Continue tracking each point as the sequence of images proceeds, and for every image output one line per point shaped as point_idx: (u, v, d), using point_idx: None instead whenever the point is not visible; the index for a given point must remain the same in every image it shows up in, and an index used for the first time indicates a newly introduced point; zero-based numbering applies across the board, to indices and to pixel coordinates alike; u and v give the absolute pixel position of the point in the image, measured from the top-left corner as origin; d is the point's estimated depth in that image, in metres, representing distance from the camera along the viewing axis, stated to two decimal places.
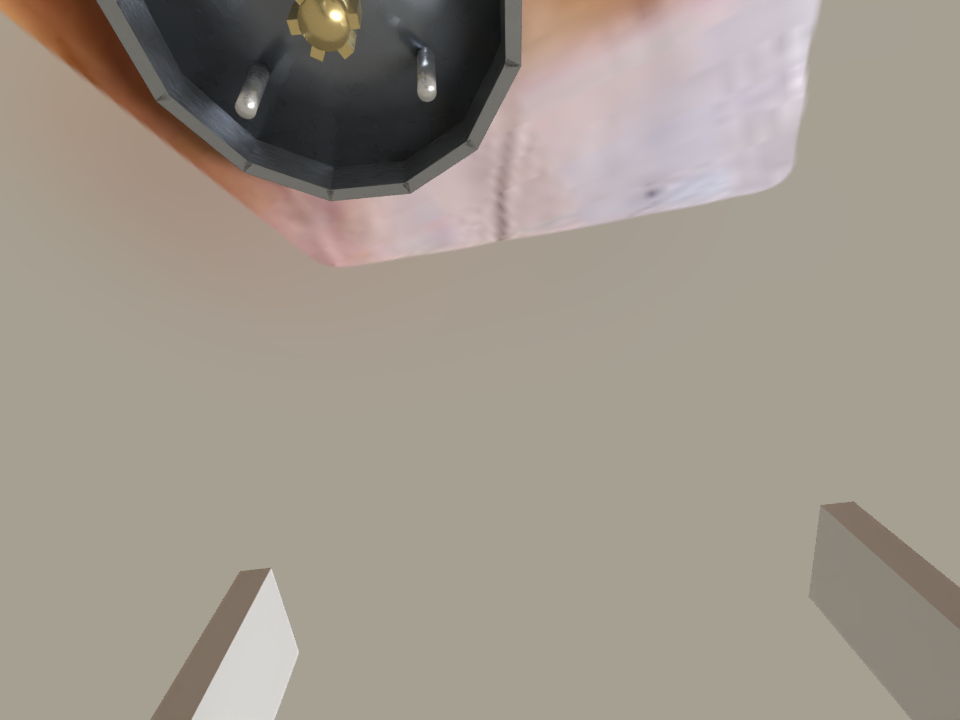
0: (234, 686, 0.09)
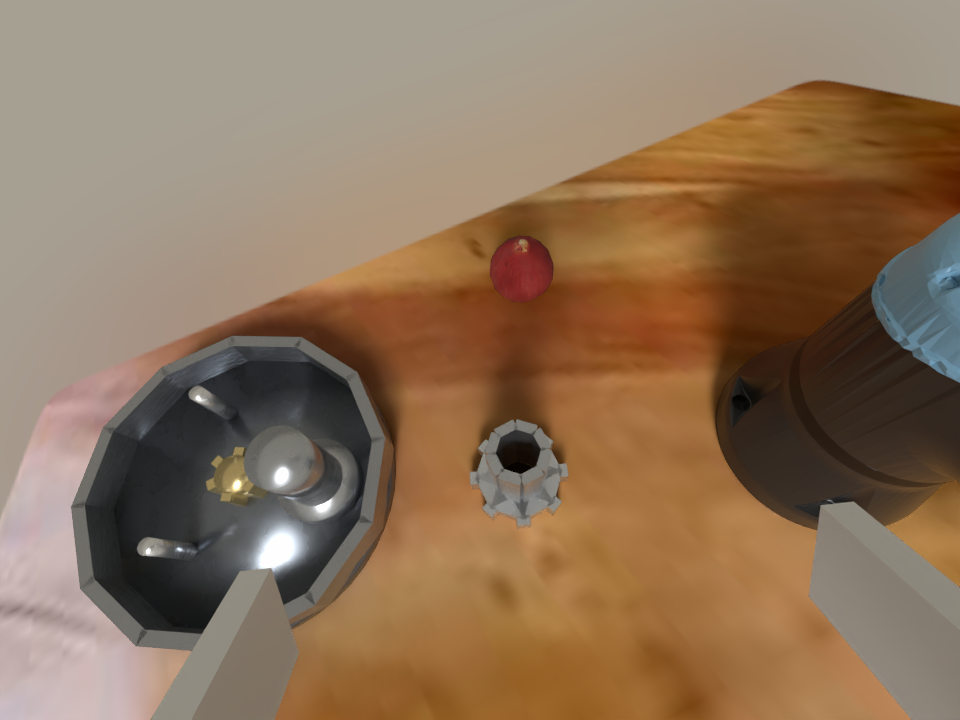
0: (234, 686, 0.09)
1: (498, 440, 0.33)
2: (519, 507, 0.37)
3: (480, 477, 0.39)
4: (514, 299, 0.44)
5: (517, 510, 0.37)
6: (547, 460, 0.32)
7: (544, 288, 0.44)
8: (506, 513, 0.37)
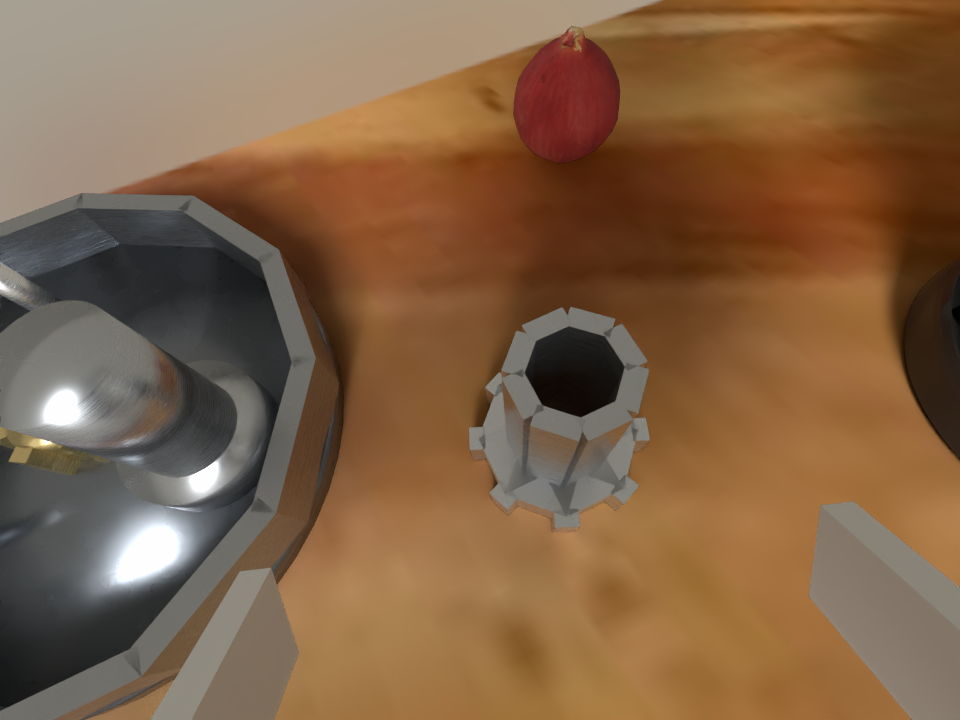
0: (234, 686, 0.09)
1: (531, 347, 0.15)
2: (560, 494, 0.20)
3: (488, 437, 0.21)
4: (553, 151, 0.27)
5: (555, 499, 0.20)
6: (639, 390, 0.14)
7: (604, 131, 0.26)
8: (534, 504, 0.20)
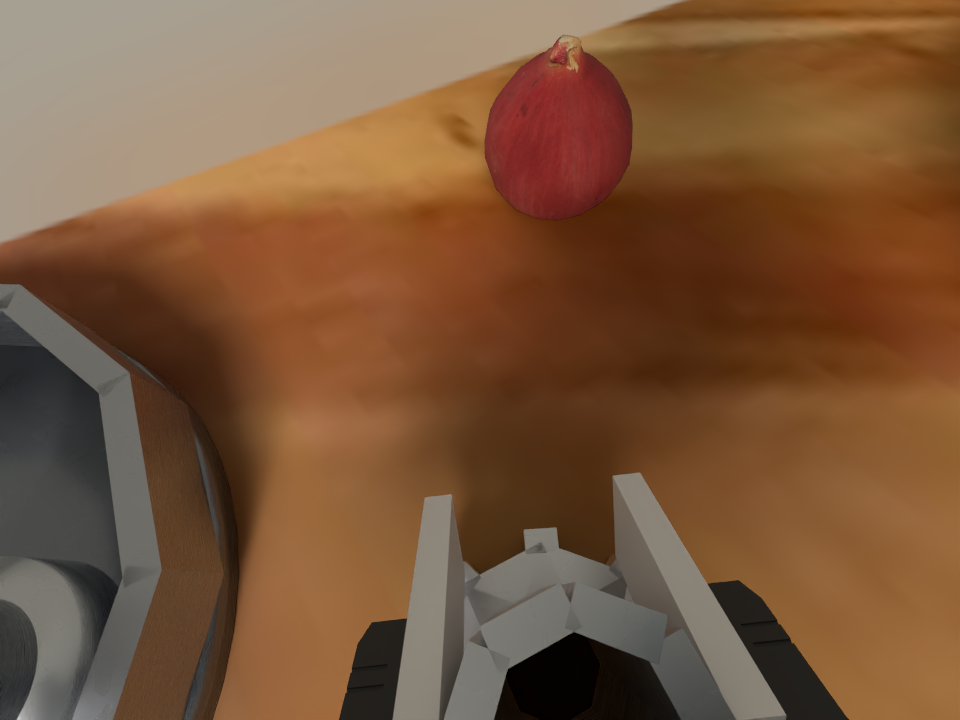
0: (452, 580, 0.11)
1: (497, 685, 0.07)
2: None
3: None
4: (540, 208, 0.19)
5: None
6: None
7: (612, 181, 0.19)
8: None
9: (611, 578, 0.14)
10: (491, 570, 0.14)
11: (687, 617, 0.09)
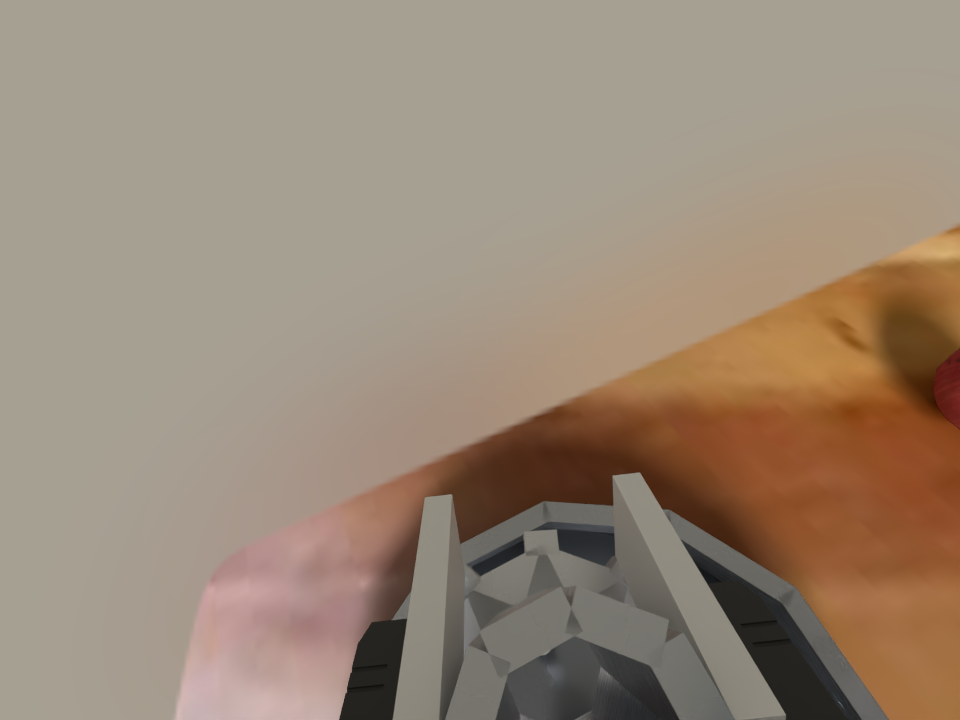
0: (452, 580, 0.11)
1: (498, 691, 0.07)
2: None
3: None
4: None
5: None
6: None
7: None
8: None
9: (611, 580, 0.14)
10: (491, 572, 0.14)
11: (687, 617, 0.09)
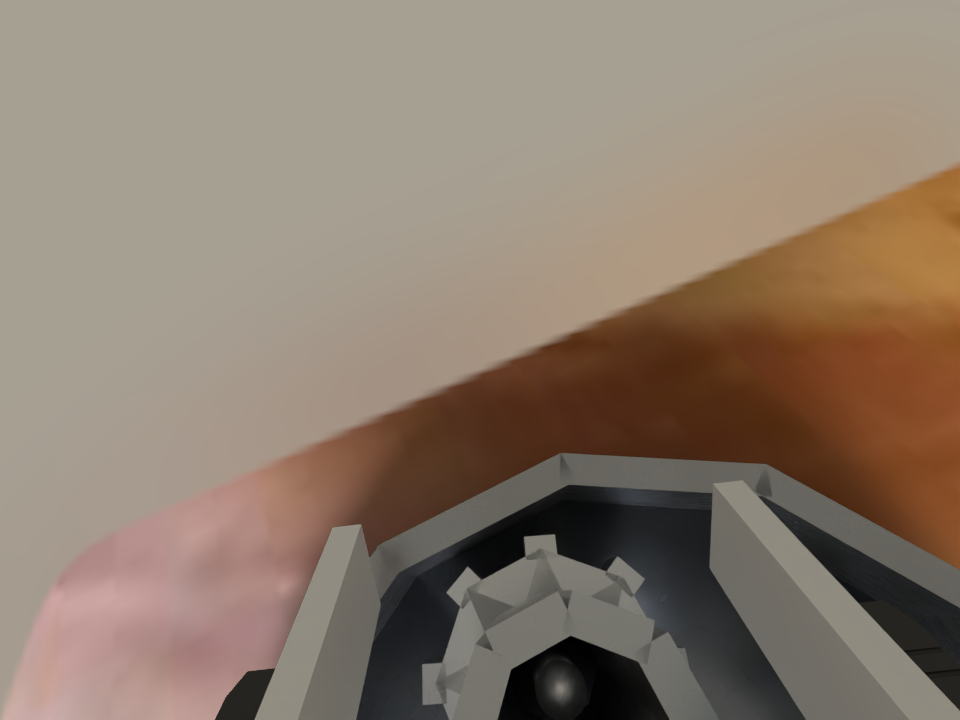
0: (345, 621, 0.11)
1: (502, 684, 0.08)
2: None
3: (450, 682, 0.14)
4: None
5: None
6: None
7: None
8: None
9: (607, 582, 0.15)
10: (493, 575, 0.15)
11: (851, 645, 0.08)
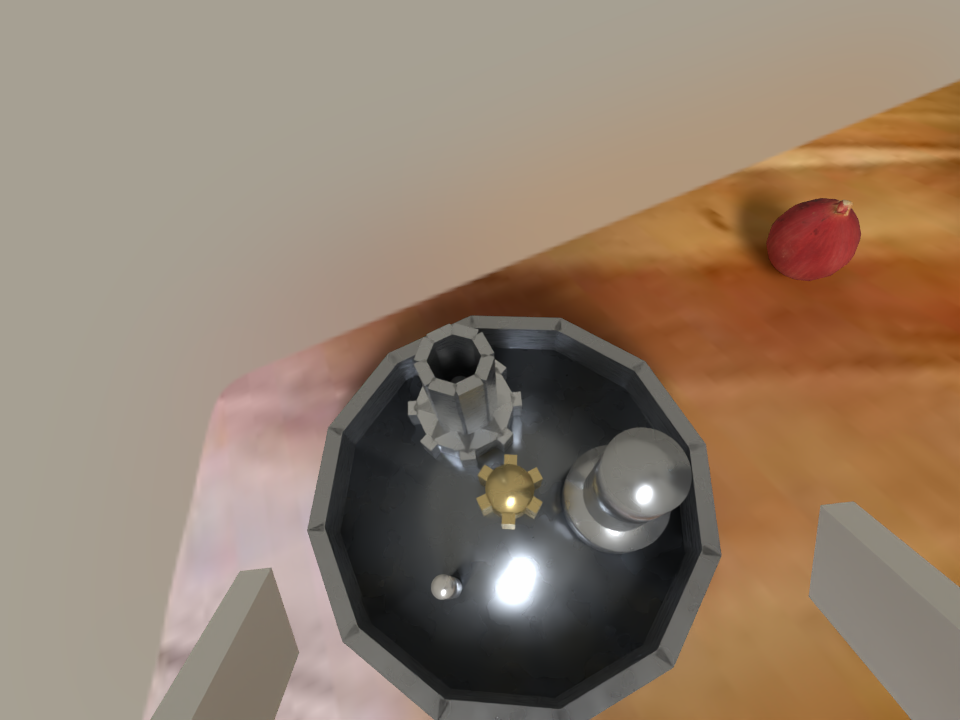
0: (234, 686, 0.09)
1: (431, 346, 0.27)
2: (464, 440, 0.32)
3: (420, 407, 0.33)
4: (806, 276, 0.36)
5: (461, 443, 0.32)
6: (488, 368, 0.26)
7: (846, 263, 0.36)
8: (448, 447, 0.32)
9: None
10: None
11: None
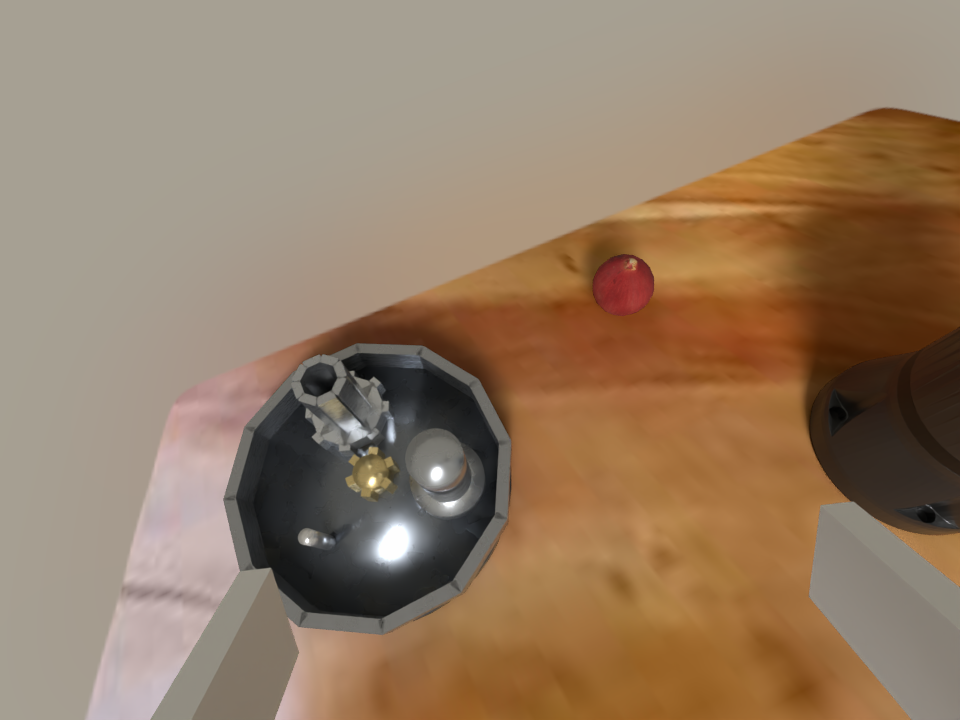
0: (234, 686, 0.09)
1: (304, 370, 0.39)
2: (343, 436, 0.43)
3: None
4: (616, 313, 0.47)
5: (340, 438, 0.43)
6: (341, 386, 0.38)
7: (645, 303, 0.47)
8: (331, 441, 0.43)
9: (368, 384, 0.46)
10: None
11: None
